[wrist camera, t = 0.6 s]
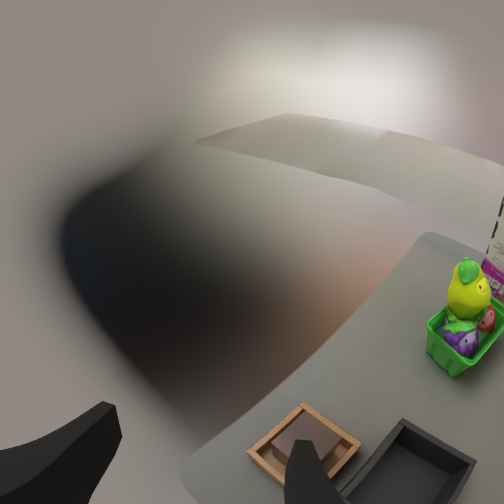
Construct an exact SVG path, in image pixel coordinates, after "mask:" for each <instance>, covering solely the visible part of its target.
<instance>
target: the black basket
mask: <svg viewBox="0 0 504 504" xmlns="http://www.w3.org/2000/svg"><path fill="white" fill-rule="evenodd" d="M476 463H477V461H476V460H475V459H473V458H471V457H469V456H467V455H465V454H464V453H462V452H460V451H458V450H456V449H455V448H453V447H451V446H449V445H448V444H446V443H444V442H442V441H441V440H439V439H437V438H435V437H434V436H432V435H430V434H429V433H427V432H425V431H424V430H422V429H420V428H419V427H417V426H415V425H414V424H412V423H410V422H409V421H407V420H405V419H404V418H402V419H401V420H400V421H399V422H398V424H397V425H396V426H395V427H394V428H393V429H392V430H391V432H390V433H389V434H388V435H387V436H386V438H385V439H384V440H383V442H382V443H381V444H380V446H379V447H378V448H377V449H376V451H375V452H374V453H373V454H372V456H371V457H370V458H369V459H368V460H367V462H366V463H365V464H364V465H363V466H362V467H361V469H360V470H359V471H358V472H357V473H356V474H355V475H354V477H353V478H352V479H351V480H350V481H349V482H348V483H347V484H346V485H345V486H344V487H343V488H342V490H341V491H340V492H339V495H340V496H341V498H342V499H343V501H344V502H345V503H346V504H453V503H454V502H455V500H456V499H457V497H458V495H459V494H460V492H461V490H462V489H463V487H464V485H465V483H466V482H467V480H468V478H469V476H470V474H471V472H472V471H473V469H474V466H475V465H476Z"/></svg>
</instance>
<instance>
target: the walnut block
mask: <svg viewBox="0 0 504 504" xmlns="http://www.w3.org/2000/svg"><path fill="white" fill-rule="evenodd" d="M342 438H343V437H342V436H340V435H339V434H337V433H336V432H335V431H333V430H332V429H330V428H329V427H328V426H326V425H325V424H323V423H322V422H321V421H319V420H318V419H317V418H315V417H314V416H313V415H311V414H310V413H309V412H307V411H306V410H305V411H304V412H303V413H302V414H301V415H300V416H299V417H298V418H297V419H296V420H295V421H294V422H293V423H292V424H291V425H289V426H288V427H287V428H286V429H285V430H284V431H283V432H282V433H281V434H280V435H278V436H277V437H276V438H275V439H274V440H273V441H272V442H271V447H272V452H273V457H274V458H276V459H277V460H278V461H279V462H280V463H282V464H283V465H284V466H285V467H286V465H287V462H288V459H289V456H290V453H291V450H292V448H293V445H294V442H295V439H298V440H311V441H312V442H313V444H314V446H315V449H316V451H317V454H318V456H319V458H320V460H321V463H322V465H323V464H324V463H325V462H326V461H327V460H328V458H329V457H330V456H331V455H332V454H333V453H334V452H335V450H336V448H337V447H338V445H339V443H340V441H341V440H342Z"/></svg>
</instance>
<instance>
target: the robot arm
mask: <svg viewBox="0 0 504 504" xmlns="http://www.w3.org/2000/svg"><path fill="white" fill-rule="evenodd" d="M121 438H122V433H121V429H120V425H119V420H118V416H117V411H116V407H115V405H113V404H110V403H107V402H104V401H102V402H100V403H99V404H97V405H96V406H94V407H93V408H91V409H90V410H88V411H86V412H85V413H83V414H82V415H80V416H79V417H77V418H76V419H74V420H73V421H71V422H69V423H68V424H66V425H64V426H63V427H61V428H59V429H57V430H55V431H54V432H51V433H49V434H48V435H46V436H44V437H41V438H39V439H37V440H34V441H32V442H29V443H27V444H23V445H20V446H16V447H12V448H9V449H4V450H0V504H88V503H89V500H90V498H91V495H92V494H93V492H94V490H95V488H96V486H97V485H98V483H99V481H100V480H101V478H102V476H103V475H104V473H105V471H106V470H107V468H108V466H109V464H110V462H111V461H112V459H113V458H114V456H115V454H116V451H117V449H118V446H119V443H120V441H121ZM284 496H285V504H346V503H345V502H344V501H343V499H342V498H341V496H340V495H339V493H338V492H337V490H336V488H335V487H334V485H333V483H332V482H331V480H330V478H329V476H328V474H327V473H326V471H325V469H324V467H323V465H322V463H321V460H320V458H319V456H318V454H317V451H316V449H315V446H314V444H313V442H312V441H311V440H298V439H295V442H294V445H293V448H292V450H291V453H290V456H289V459H288V462H287V465H286V468H285V482H284Z"/></svg>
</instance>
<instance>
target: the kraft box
mask: <svg viewBox="0 0 504 504" xmlns="http://www.w3.org/2000/svg"><path fill="white" fill-rule="evenodd" d="M305 410H306V411H307V412H309V413H310V414H311V415H313V416H314V417H315V418H317V419H318V420H319V421H321V422H322V423H323V424H325V425H326V426H328V427H329V428H330V429H332V430H333V431H335V432H336V433H337V434H339V435H340V436H342V437H343V438H342V440H341V441H340V443H339V445H338V447H337V448H336V450H335V452H334V453H333V454H332V455H331V456H330V457H329V458H328V460H327V461H326V462H325V463H324V464H323V467H324V469H325V471H326V473H327V474H328V476H329V478H330V479H331V478H332V477H333V476H334V475H335V474H336V473H337V472H338V471H339V470H340V469H341V468H342V467H343V466H344V465H345V463H346V462H347V461H348V460H349V459H350V458H351V457H352V456H353V454H354V453H355V452H356V451H357V450H358V449H359V447H360V446H361V445H362V443H361V442H359V441H358V440H356V439H355V438H353V437H352V436H350V435H349V434H348V433H346V432H345V431H343V430H342V429H340V428H339V427H338V426H336V425H335V424H333V423H332V422H331V421H329V420H328V419H326V418H325V417H324V416H322V415H321V414H319V413H318V412H317V411H315V410H314V409H313V408H311V407H310V406H309V405H307V404H306V403H305V402H301V403H300V404H299V406H297V407H296V408H295V409H294V410H293V411H292V412H291V413H290V414H289V415H288V416H287V417H285V418H284V419H283V420H282V421H281V422H280V423H279V424H278V425H277V426H276V427H274V428H273V429H272V430H271V431H270V432H269V433H268V434H266V435H265V436H264V437H263V438H262V439H260V440H259V441H258V442H257V443H256V444H255V445H253V446H252V447H251V448H250V449H248V450H247V451H246V452H247V454H248V456H249V458H250V459H251V460H252V461H253V462H255V463H256V464H257V465H258V466H259V467H260V468H261V469H262V470H263V471H265V472H266V473H267V474H268V475H269V476H270V477H272V478H273V479H274V480H275V481H276V482H277V483H279V484H280V485H281V486H282V487H283V488H284V482H285V468H286V467H285V466H284V465H283V464H282V463H280V462H279V461H278V460H277V459H276V458H274V457H273V452H272V447H271V442H272V441H273V440H274V439H275V438H276V437H277V436H278V435H280V434H281V433H282V432H283V431H284V430H285V429H286V428H287V427H288V426H289V425H291V424H292V423H293V422H294V421H295V420H296V419H297V418H298V417H299V416H300V415H301V414H302V413H303V412H304V411H305Z"/></svg>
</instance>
